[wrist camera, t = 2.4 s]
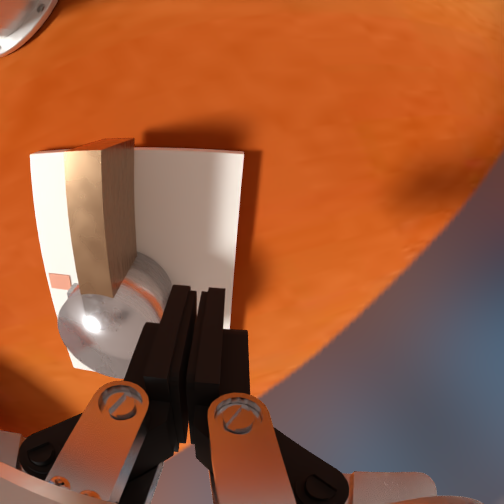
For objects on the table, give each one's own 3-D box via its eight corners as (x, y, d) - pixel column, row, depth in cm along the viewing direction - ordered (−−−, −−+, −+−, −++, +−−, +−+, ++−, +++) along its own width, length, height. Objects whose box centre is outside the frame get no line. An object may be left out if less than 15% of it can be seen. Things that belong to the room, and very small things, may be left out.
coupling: (187, 331, 28) (178, 385, 22) (87, 320, 27) (61, 367, 21) (190, 137, 21) (171, 150, 15) (64, 140, 20) (14, 155, 14)
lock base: (39, 151, 22) (29, 154, 20) (243, 151, 23) (244, 154, 22) (78, 358, 32) (73, 368, 31) (226, 376, 34) (225, 387, 32)
